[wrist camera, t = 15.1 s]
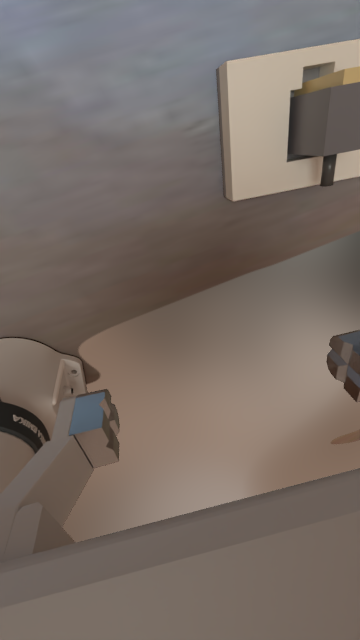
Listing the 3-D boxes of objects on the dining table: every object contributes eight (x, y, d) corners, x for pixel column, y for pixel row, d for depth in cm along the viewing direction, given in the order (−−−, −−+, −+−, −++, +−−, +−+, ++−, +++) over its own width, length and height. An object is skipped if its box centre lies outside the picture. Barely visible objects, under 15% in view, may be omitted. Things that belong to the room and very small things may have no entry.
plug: (312, 175, 34) (357, 183, 28) (281, 181, 34) (319, 191, 28) (321, 80, 29) (379, 62, 23) (285, 87, 29) (333, 71, 23)
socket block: (359, 169, 36) (380, 172, 33) (223, 196, 35) (232, 201, 32) (383, 41, 29) (411, 30, 26) (216, 69, 28) (226, 61, 25)
